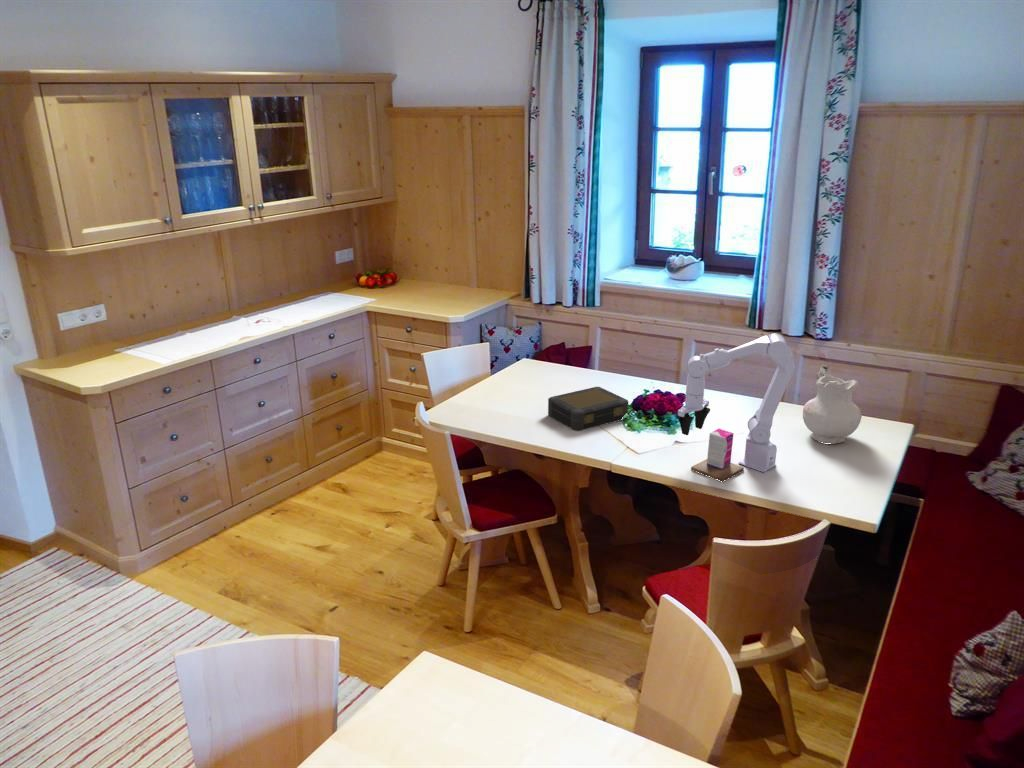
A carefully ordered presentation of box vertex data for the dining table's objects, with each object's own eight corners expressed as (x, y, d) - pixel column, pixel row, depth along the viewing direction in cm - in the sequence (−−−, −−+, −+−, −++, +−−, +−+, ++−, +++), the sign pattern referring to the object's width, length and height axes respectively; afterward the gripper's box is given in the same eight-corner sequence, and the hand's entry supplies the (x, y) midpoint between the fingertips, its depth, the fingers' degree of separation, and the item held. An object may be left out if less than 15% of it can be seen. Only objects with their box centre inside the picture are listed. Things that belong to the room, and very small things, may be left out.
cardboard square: (743, 473, 257) (743, 467, 257) (722, 484, 250) (722, 478, 249) (712, 461, 266) (712, 456, 265) (690, 472, 258) (691, 466, 258)
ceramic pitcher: (785, 431, 291) (789, 368, 282) (830, 421, 296) (835, 358, 287) (824, 454, 272) (829, 387, 263) (871, 443, 277) (877, 377, 268)
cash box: (597, 402, 317) (597, 384, 315) (629, 419, 301) (630, 400, 298) (545, 415, 305) (545, 396, 302) (576, 432, 289) (576, 413, 286)
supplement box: (722, 470, 255) (724, 438, 251) (706, 465, 259) (708, 433, 255) (731, 464, 259) (733, 432, 255) (715, 459, 263) (717, 427, 259)
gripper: (697, 384, 265) (694, 422, 270) (671, 395, 256) (668, 433, 260) (715, 389, 260) (712, 427, 265) (689, 400, 251) (686, 439, 255)
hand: (691, 431), depth 262 cm, fingers open, 7 cm apart
